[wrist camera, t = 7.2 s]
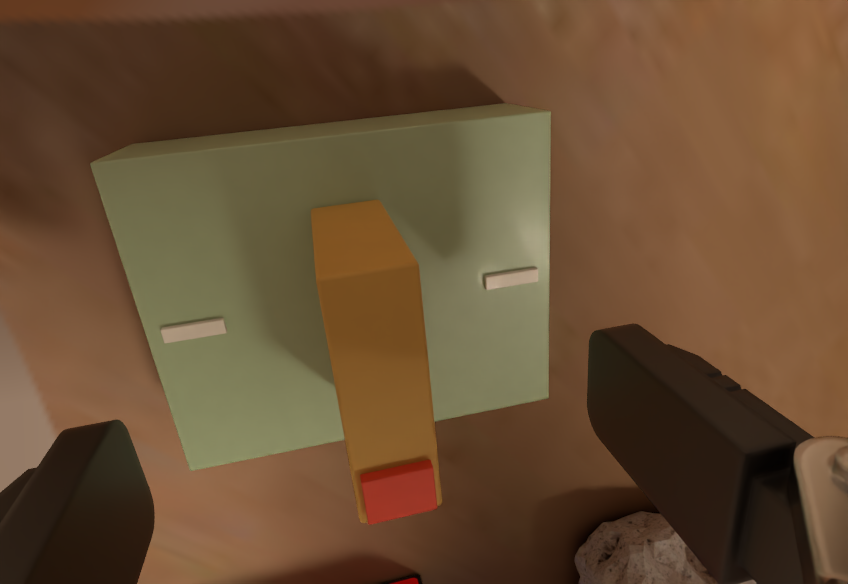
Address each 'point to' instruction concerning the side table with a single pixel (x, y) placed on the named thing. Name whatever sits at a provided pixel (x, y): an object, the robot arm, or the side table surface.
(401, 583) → the rubik's cube
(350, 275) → the lock turn
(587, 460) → the side table surface
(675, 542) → the stone
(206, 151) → the plate
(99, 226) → the side table surface
